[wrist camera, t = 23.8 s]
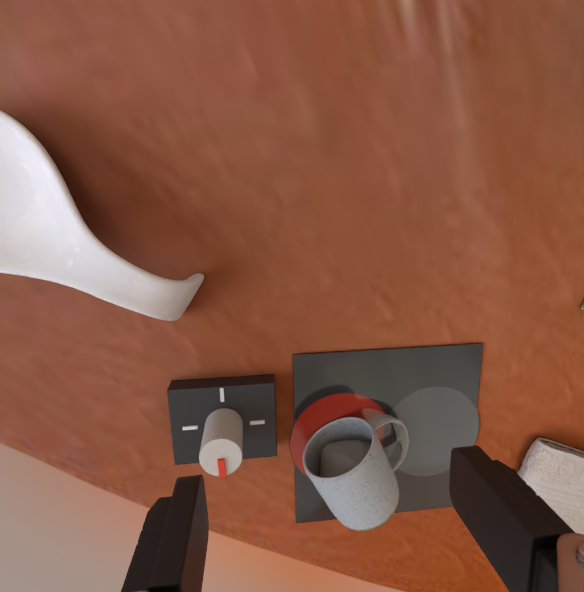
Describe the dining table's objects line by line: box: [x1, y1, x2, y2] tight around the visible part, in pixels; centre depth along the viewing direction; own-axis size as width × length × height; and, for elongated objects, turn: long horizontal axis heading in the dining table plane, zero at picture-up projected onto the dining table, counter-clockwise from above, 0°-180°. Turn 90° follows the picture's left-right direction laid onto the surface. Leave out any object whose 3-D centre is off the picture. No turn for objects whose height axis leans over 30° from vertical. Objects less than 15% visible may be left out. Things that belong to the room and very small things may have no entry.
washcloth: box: [517, 437, 584, 534], centre depth 46 cm, size 12×18×3 cm, turn 69°
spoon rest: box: [0, 111, 204, 321], centre depth 30 cm, size 24×12×7 cm, turn 58°
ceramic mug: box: [303, 414, 409, 531], centre depth 38 cm, size 11×8×8 cm
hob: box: [290, 343, 483, 523], centre depth 42 cm, size 21×20×1 cm
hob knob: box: [199, 408, 243, 478], centre depth 35 cm, size 4×4×5 cm
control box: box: [167, 374, 277, 465], centre depth 39 cm, size 10×8×2 cm
